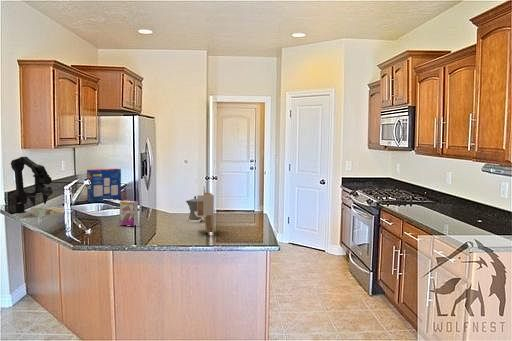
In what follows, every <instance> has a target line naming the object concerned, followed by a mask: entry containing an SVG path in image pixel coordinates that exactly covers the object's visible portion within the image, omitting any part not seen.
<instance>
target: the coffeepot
mask: <svg viewBox="0 0 512 341" xmlns="http://www.w3.org/2000/svg"><path fill="white" fill-rule="evenodd" d="M185 202H186V203H187V205H188V206H189V216H188V220H189V219H190V220H199V219H201V220H202V217H197V216H196V215H195V213H194V212H195V211H197V195H196V196H194V197H193V199H188V200H185Z"/></svg>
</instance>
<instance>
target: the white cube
mask: <svg viewBox="0 0 512 341" xmlns="http://www.w3.org/2000/svg"><path fill="white" fill-rule="evenodd" d="M34 209H43V208H42V206H36V205H35V206H32V207H30V215H34Z"/></svg>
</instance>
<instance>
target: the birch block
mask: <svg viewBox="0 0 512 341" xmlns="http://www.w3.org/2000/svg"><path fill="white" fill-rule="evenodd" d="M64 208H65V207H60V206H53V207H47V208H44V209H45V215H53V216H56V215H62V214H65V213H64Z"/></svg>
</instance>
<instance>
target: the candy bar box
mask: <svg viewBox="0 0 512 341" xmlns="http://www.w3.org/2000/svg"><path fill="white" fill-rule="evenodd" d="M137 224H138V225H139V202H138V201H135V200H134V201H132V200H121V201H120V200H119V226H120V225H130V226H134V225H137Z"/></svg>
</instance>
